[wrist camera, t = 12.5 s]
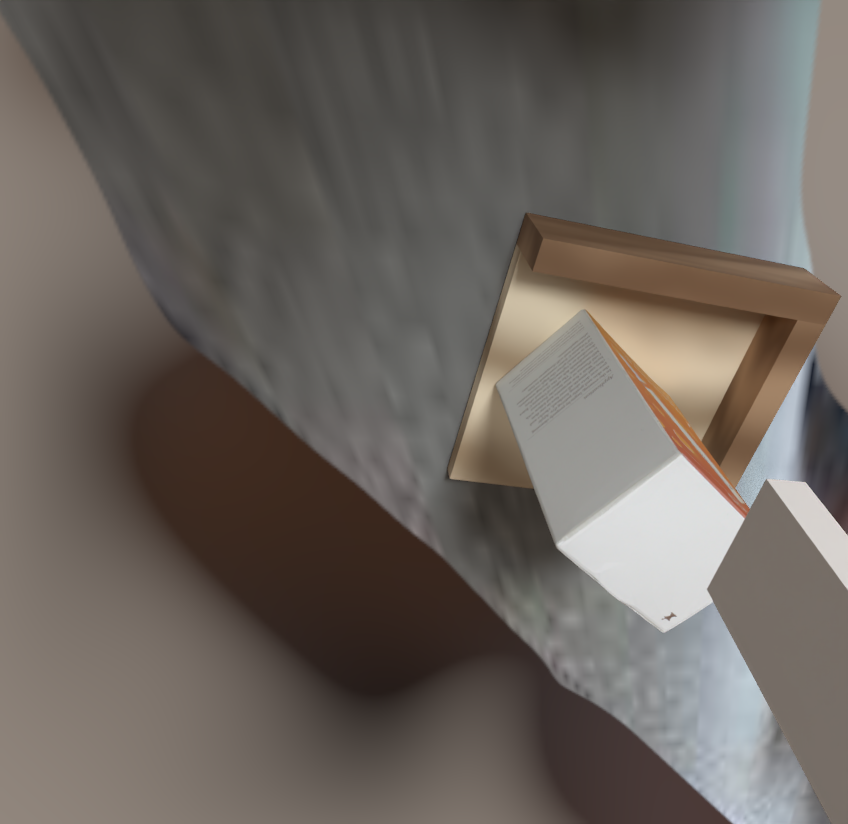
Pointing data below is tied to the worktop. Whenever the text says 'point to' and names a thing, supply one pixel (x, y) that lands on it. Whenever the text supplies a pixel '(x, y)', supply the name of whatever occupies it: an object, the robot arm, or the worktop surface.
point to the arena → (649, 334)
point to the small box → (620, 473)
